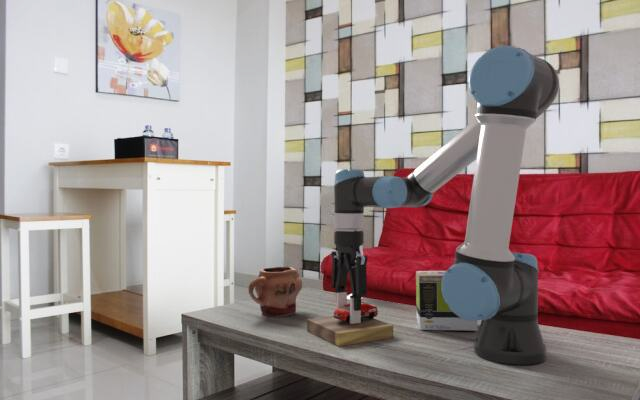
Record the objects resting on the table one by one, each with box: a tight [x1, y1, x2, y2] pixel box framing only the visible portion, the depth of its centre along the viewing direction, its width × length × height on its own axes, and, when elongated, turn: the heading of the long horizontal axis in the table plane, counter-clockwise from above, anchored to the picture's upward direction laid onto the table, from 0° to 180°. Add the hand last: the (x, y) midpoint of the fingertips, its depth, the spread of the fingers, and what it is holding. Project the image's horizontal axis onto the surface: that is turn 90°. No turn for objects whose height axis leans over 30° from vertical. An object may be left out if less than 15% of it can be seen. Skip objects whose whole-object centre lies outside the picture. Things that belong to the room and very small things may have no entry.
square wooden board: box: [306, 315, 394, 347], centre depth 131 cm, size 16×16×3 cm
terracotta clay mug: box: [248, 266, 303, 318], centre depth 152 cm, size 20×12×14 cm, turn 143°
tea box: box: [415, 270, 478, 332], centre depth 139 cm, size 15×10×15 cm, turn 84°
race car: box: [332, 301, 379, 322], centre depth 133 cm, size 13×5×4 cm, turn 126°
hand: (348, 319), depth 131 cm, fingers closed on race car, 6 cm apart
